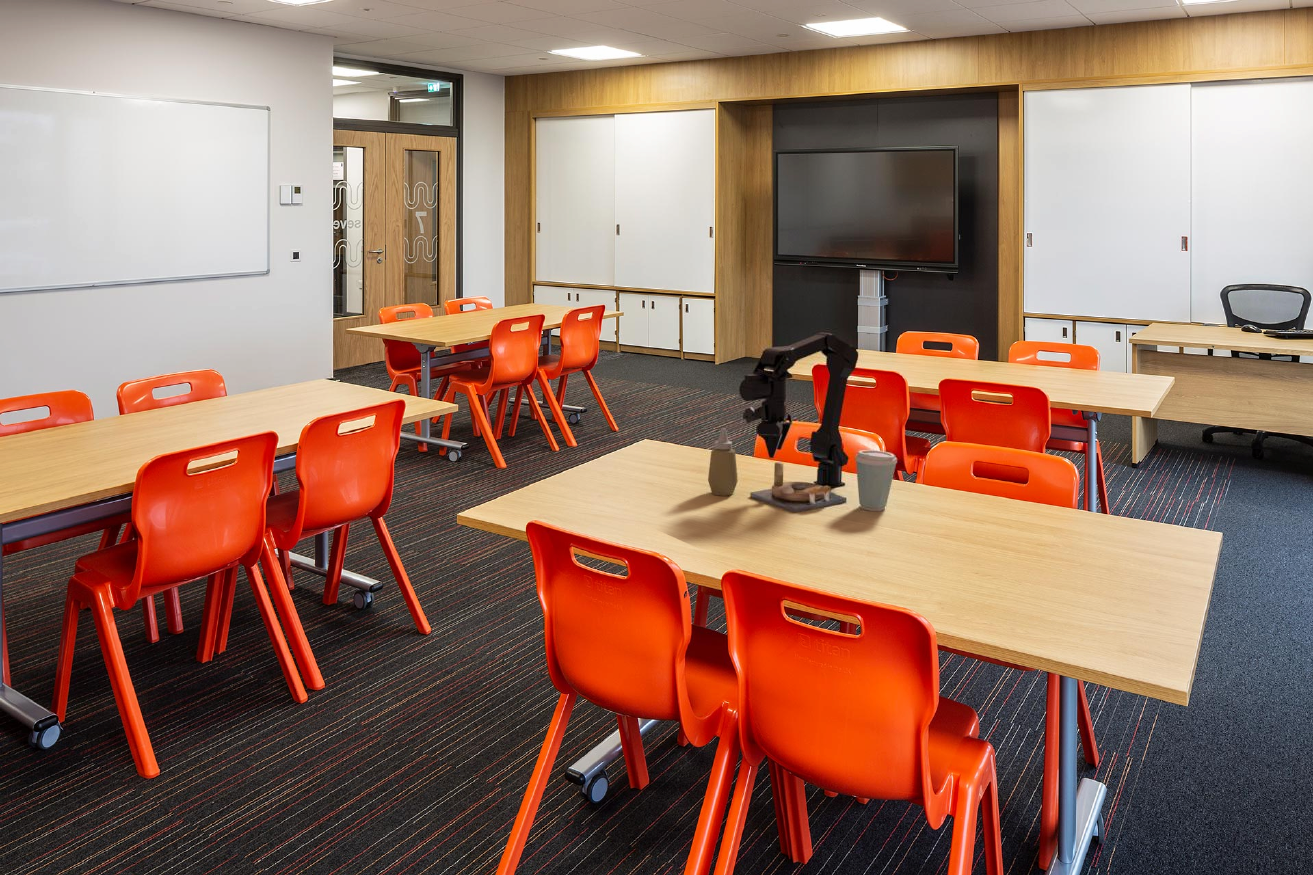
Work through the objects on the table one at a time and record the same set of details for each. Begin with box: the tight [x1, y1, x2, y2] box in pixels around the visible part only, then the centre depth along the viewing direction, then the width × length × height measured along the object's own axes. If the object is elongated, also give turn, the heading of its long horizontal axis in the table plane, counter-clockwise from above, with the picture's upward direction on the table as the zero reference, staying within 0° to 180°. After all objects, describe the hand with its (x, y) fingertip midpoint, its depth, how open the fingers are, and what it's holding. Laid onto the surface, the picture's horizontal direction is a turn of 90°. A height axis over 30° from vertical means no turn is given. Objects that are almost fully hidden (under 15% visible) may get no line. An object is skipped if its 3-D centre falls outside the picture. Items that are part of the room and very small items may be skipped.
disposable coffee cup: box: [854, 449, 898, 512], centre depth 264 cm, size 11×11×15 cm
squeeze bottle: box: [707, 428, 739, 497], centre depth 277 cm, size 8×8×18 cm
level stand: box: [749, 486, 847, 513], centre depth 273 cm, size 18×18×5 cm
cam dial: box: [771, 461, 824, 501], centre depth 272 cm, size 14×14×8 cm
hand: (775, 453), depth 274 cm, fingers open, 9 cm apart
